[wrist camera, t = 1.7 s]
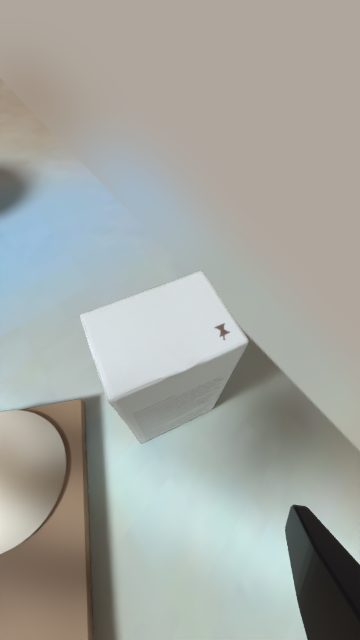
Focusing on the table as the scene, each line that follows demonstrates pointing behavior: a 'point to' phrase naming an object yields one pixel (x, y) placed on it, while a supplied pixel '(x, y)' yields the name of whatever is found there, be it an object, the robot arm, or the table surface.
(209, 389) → the skincare box
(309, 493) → the table surface
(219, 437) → the table surface
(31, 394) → the table surface
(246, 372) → the table surface
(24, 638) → the walnut board
